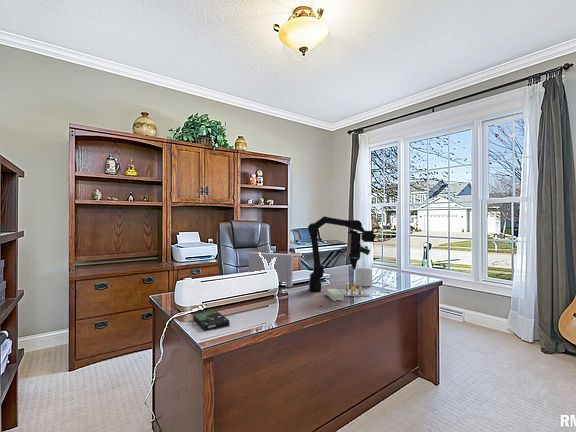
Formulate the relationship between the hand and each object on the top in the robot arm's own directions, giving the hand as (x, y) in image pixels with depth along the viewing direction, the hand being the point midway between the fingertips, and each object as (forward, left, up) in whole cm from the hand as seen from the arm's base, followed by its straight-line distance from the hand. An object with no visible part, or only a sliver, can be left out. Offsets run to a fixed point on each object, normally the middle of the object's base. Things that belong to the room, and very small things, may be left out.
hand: (354, 268), depth 173 cm
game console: (-48, +19, -14) cm, 53 cm away
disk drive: (-76, -45, -15) cm, 89 cm away
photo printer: (+11, +14, -14) cm, 23 cm away
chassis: (-2, -4, -14) cm, 14 cm away
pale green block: (-15, -11, -14) cm, 23 cm away
